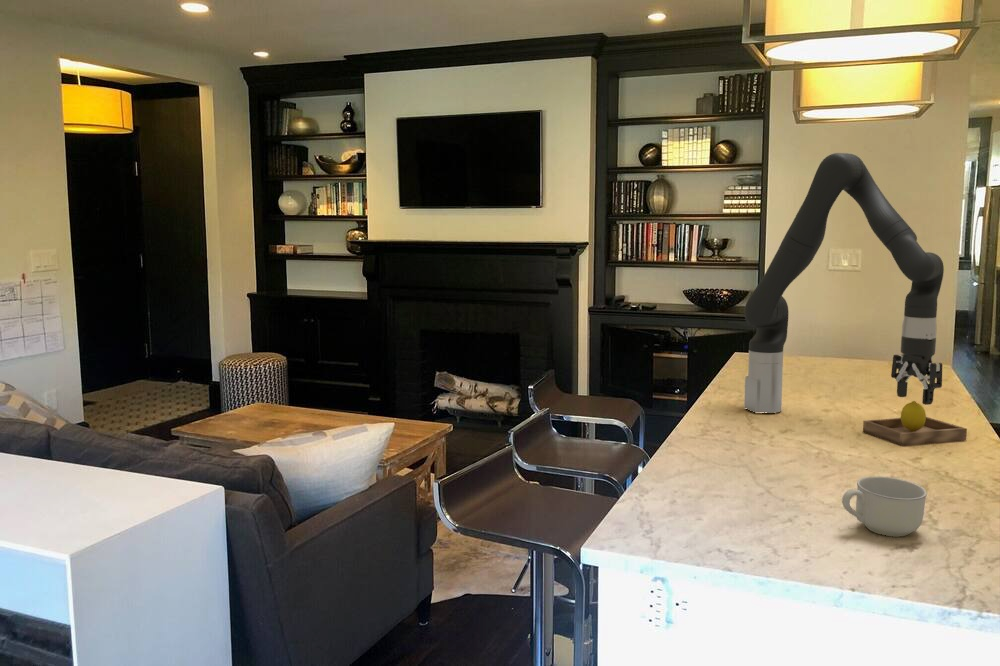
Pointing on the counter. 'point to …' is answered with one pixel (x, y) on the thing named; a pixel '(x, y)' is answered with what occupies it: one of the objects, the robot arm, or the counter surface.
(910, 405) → the lemon
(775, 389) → the robot arm
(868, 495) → the teacup
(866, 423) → the tray
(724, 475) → the counter surface
